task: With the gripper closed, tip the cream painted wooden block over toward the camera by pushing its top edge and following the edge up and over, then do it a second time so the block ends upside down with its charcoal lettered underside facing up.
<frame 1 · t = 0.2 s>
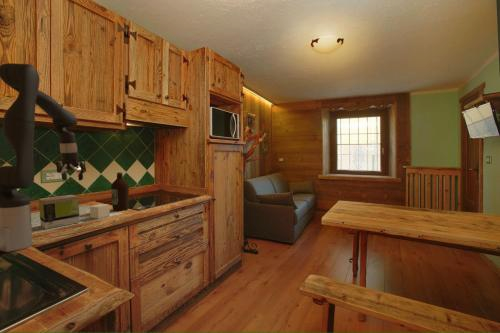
hand: (72, 180, 135), 23 cm above the worktop, tool pointing down, fingers open, 8 cm apart
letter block: (100, 217, 144), on the worktop
olive oil: (120, 209, 162), on the worktop
tea box: (60, 224, 129), on the worktop
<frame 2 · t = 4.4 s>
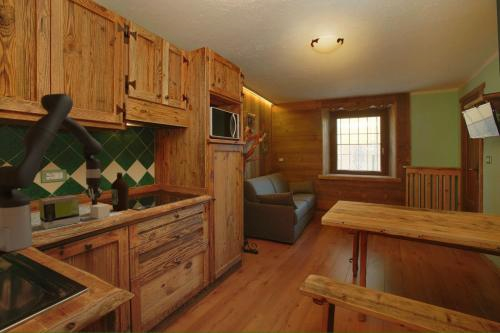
hand: (94, 205, 145), 7 cm above the worktop, tool pointing down, fingers closed
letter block: (100, 216, 144), on the worktop, touching gripper
everything else where it was.
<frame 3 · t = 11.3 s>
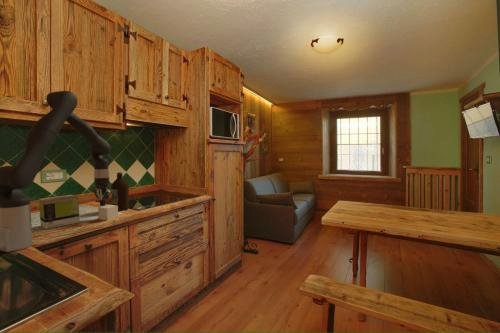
hand: (102, 206, 142), 7 cm above the worktop, tool pointing down, fingers closed
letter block: (103, 211, 142), point 4 cm above the worktop, tilted 91°, touching gripper
everything else where it was.
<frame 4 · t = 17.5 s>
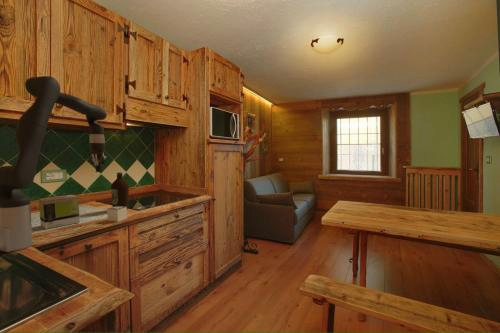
hand: (98, 171, 142), 27 cm above the worktop, tool pointing down, fingers closed
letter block: (117, 207, 138), point 7 cm above the worktop, tilted 180°
everything else where it was.
at the end: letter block tilted 180°; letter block inside the target area (0.7 cm from its centre), point 6.9 cm above the worktop; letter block touching worktop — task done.
